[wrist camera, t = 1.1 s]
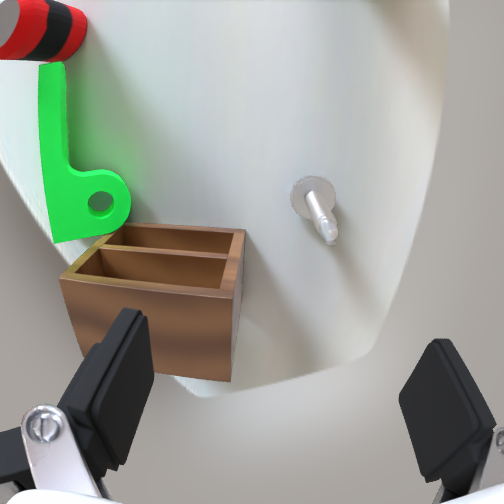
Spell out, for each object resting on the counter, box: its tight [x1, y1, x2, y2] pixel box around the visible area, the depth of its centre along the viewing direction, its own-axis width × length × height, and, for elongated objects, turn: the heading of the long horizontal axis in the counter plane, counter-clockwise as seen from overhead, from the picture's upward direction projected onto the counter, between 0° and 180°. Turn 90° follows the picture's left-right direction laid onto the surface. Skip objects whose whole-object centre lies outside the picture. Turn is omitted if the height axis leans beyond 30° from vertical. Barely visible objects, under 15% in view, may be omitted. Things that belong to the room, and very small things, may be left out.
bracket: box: [38, 61, 131, 244], centre depth 31 cm, size 20×10×7 cm
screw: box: [290, 175, 338, 246], centre depth 28 cm, size 13×5×5 cm
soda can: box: [0, 0, 87, 62], centre depth 20 cm, size 8×8×12 cm
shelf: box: [59, 222, 245, 382], centre depth 32 cm, size 10×16×14 cm, turn 87°
